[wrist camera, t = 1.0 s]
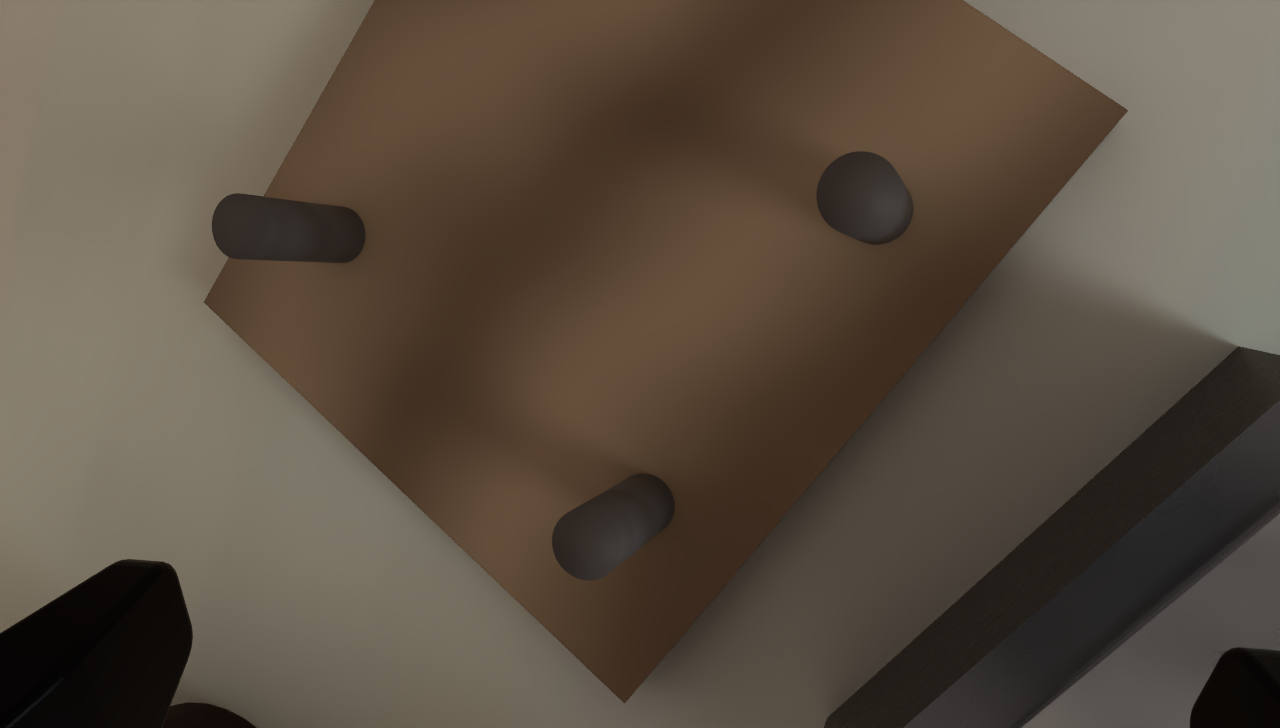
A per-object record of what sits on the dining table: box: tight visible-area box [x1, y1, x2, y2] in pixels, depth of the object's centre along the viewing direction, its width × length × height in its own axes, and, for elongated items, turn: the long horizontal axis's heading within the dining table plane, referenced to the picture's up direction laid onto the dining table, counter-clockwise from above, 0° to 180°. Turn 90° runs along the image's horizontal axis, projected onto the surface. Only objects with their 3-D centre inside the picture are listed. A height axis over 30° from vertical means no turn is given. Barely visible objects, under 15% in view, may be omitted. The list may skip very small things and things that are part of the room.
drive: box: [824, 347, 1280, 728], centre depth 14 cm, size 6×10×4 cm, turn 139°
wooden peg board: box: [204, 0, 1128, 703], centre depth 17 cm, size 13×14×4 cm
